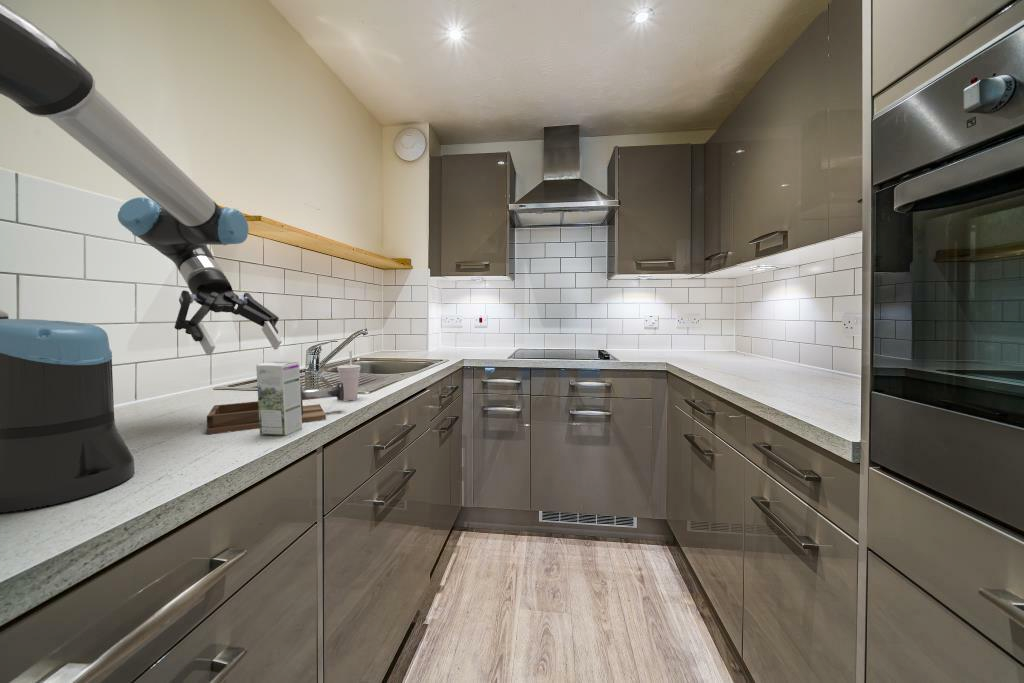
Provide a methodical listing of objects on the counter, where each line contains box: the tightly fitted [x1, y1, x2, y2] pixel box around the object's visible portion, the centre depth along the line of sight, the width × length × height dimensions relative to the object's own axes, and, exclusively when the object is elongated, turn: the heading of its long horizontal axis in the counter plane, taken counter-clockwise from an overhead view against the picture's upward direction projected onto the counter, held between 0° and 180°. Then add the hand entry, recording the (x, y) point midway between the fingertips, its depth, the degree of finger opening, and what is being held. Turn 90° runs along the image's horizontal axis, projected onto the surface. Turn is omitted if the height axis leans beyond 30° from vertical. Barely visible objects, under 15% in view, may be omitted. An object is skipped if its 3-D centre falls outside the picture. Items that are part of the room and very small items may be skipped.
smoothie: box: [336, 350, 362, 401], centre depth 114 cm, size 6×6×14 cm
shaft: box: [302, 382, 344, 401], centre depth 97 cm, size 4×13×4 cm, turn 121°
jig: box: [206, 382, 327, 435], centre depth 92 cm, size 14×22×8 cm, turn 121°
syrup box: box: [255, 361, 303, 436], centre depth 82 cm, size 6×6×14 cm
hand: (247, 348), depth 86 cm, fingers open, 13 cm apart
